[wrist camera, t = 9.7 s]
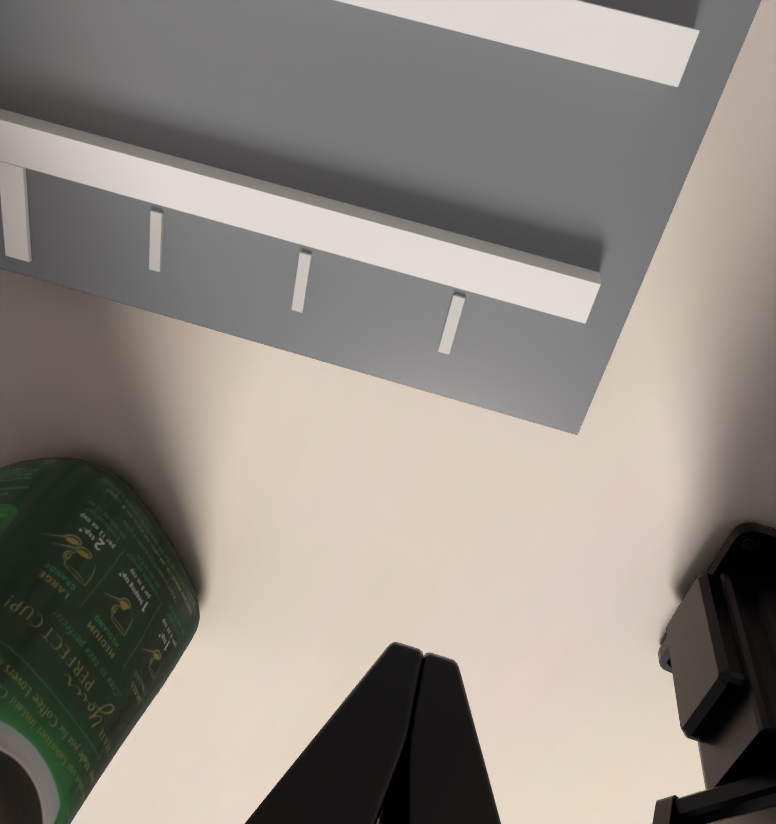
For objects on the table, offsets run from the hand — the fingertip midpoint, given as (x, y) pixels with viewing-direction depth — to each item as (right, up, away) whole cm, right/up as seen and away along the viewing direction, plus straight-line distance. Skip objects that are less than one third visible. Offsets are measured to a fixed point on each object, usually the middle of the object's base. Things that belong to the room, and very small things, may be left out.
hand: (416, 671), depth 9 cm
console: (-4, +12, +9) cm, 16 cm away
